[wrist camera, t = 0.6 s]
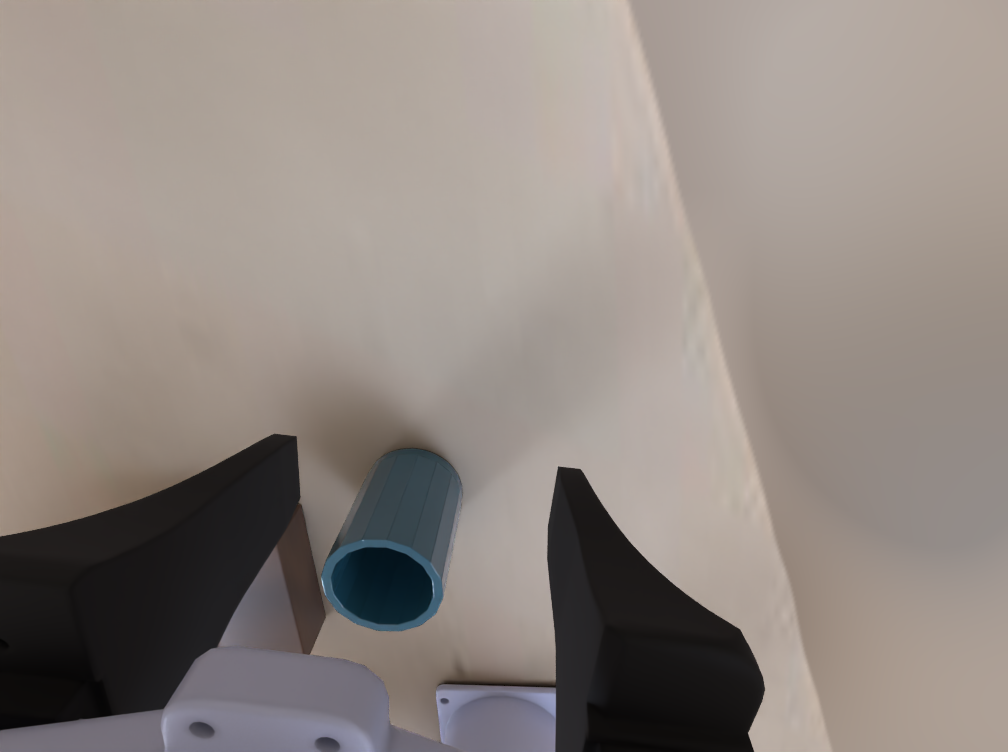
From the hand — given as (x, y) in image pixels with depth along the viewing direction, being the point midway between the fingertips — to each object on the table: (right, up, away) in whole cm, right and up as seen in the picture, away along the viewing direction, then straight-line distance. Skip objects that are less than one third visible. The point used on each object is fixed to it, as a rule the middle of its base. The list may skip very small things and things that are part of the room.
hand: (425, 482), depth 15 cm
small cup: (-2, -3, +13) cm, 13 cm away
